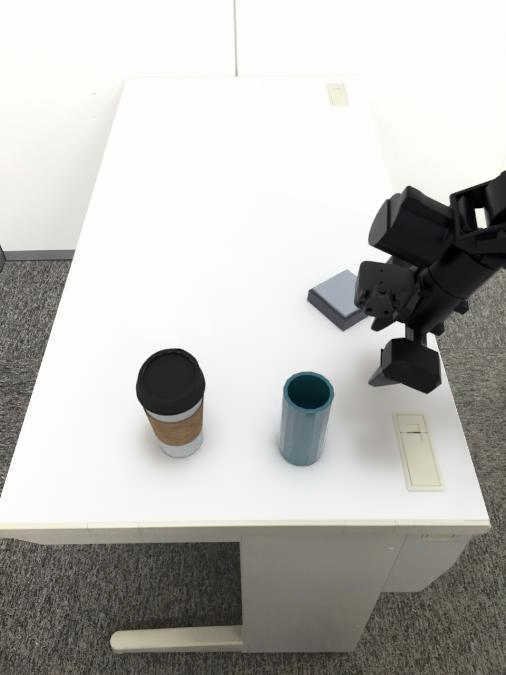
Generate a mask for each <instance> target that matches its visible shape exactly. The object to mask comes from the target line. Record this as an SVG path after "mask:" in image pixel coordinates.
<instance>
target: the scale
mask: <svg viewBox="0 0 506 675" xmlns="http://www.w3.org/2000/svg"><path fill="white" fill-rule="evenodd" d="M356 279H357V275H356V274H354V273H353V272H351V270H350V269H345V270H343V271H341V272H340V273H338V274H335V275H334V276H332V277H330V278H328V279H327V280H324V281H323V282H321V283H319V284H318V285H315V286H313V287H311V288H310V289H308V291H307V299H306V300H307V301H308V302H309V303H310V304H311V305H312V306H313V307H314V308H315V309H317V310H318V311H319V312H321V314H323V315H324V316H325V317H326V318H327V319H328V320H329V321H330V322H331V323H333V324H334V325H335V326H336V327H337V328H339V329H340V330H341V331H342V332H344V331H346V330H348V329H349V328H351V327H352V326H354V325H356V324H358V323H359V322H361V321H362V320H364V319H366V318H367V317H368V316H367V315H365V314H364V310H363V309H359V308H357V307H356V306H355V305H354V295H355V283H356Z"/></svg>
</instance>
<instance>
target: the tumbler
mask: <svg viewBox="0 0 506 675" xmlns="http://www.w3.org/2000/svg"><path fill="white" fill-rule="evenodd" d="M334 399H335V390H334V386H333V385H332V383H331V382H330V380H329V379H328V378H327V377H325V376H324V375H323V374H321V373H318V372H315V371H308V370H307V371H299V372H296V373H293V374H292V375H290V377H288V378H287V379H286V380H285V383H284V385H283V387H282V399H281V410H280V423H279V424H280V426H279V437H278V450H279V452H280V455H281V456H282V457H283V459H284V460H285V461H287V462H288V463H289V464H291V465H293V466H296V467H297V466H298V467H308V466H310V465H313V464H315V463H316V462H317V461H319V459H321V456H322V455H323V451H324V447H325V444H326V443H325V442H326V437H327V433H328V428H329V423H330V419H331V414H332V409H333V404H334Z"/></svg>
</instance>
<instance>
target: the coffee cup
mask: <svg viewBox="0 0 506 675" xmlns="http://www.w3.org/2000/svg"><path fill="white" fill-rule="evenodd" d="M198 361H199V360H197V358H196V357H195V356H194V355H193V354H191V353H190V352H188V351H187V350H185V349H183V348H181V347H180V348H179V347H173V348H172V347H171V348H163V349H160V350H158V351H156V352H154V353H152V354H151V355H149V357H147V358H146V359H145V361H144V362H143V363H142V365H141V366H140V368H139V371H138V373H137V378H136V381H135V382H136V384H135V392H136V393H135V394H136V399H137V401H138V403H139V404H140V406H142V409H143V412H144V414H145V415H146V418H147V420H148V422H149V424H150V426H151V429H152V431H153V433H154V435H155V437H156V439H157V441H158V444H159V447H160V449H161V450H162V451H163V452H164V453H165V454H166V455H168V456H169V457H172V458H178V459H179V458H186V457H189V456H191V455H193V454H194V453H195V452H197V451H198V449H199V448H200V446H201V445H202V441H203V427H204V426H203V424H204V423H203V421H204V402H205V392H206V387H207V386H206V385H207V383H206V378H205V374H204V372H203V370H202V368H201V367H200V364H199V362H198Z"/></svg>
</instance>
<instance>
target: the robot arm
mask: <svg viewBox="0 0 506 675" xmlns="http://www.w3.org/2000/svg"><path fill="white" fill-rule="evenodd" d="M448 200H449V205H446V204H444V203H442V202H440V201H438V200H436V199H434V198H433V197H429V196H428V195H426V194H424V193H423V192H422V191H421V190H420V189H418V188H416V187H414V186H412V185H407V186H406V187H405V188H404V189H403V190H402V192H401V193H400V192H396V193H394V194H393V195H391V196H390V197H389V198H386V199H385V200H384V202H383V203H382V205H381V206H380V208H379V209H378V211H377V212H376V215H375V217H374V219H373V221H372V223H371V226H370V229H369V232H368V236H367V242H368V245H369V246H370V247H372V248H374V249H377V250H378V251H381V252H383V253H385V254H388V255H390V257H389V258H388V259H387V261H386V262H381V261H374V260H363V261H362V262H360V264H359V266H358V271H357V275H356V276H357V279H356V283H355V295H354V305H355V306H356V307H357V308H359V309H363V310H364V314H365V315H367V317H372V318H373V320H372V323H371V325H370V330H371V331H373V332H376V333H378V332H380V331H382V330H384V329H386V328H388V327H389V326H391V325H393V324H395V323H396V322H398V323H400V324H404V336H402V337H394V338H391V339H390V340H389V341H387V343H386V344H385V345H384V348H380V355H379V356H380V358H379V359H380V360H379V366H378V367H377V368H376V369H375V371H374V372H373V374H372V375H371V377H370V378H369V380H368V381H367V384H368V385H369V386H371V387H373V388H378V387H385V386H392V385H399V384H401V385H403V386H406V387H408V388H410V389H413V390H415V391H418V392H420V393H422V394H425V395H429V394H430V393H432V392H433V391H435V390H436V389H437V388H438V387H440V386H441V385H442V384H443V382H442V381H443V378H442V366H441V364H442V363H441V357H440V353H439V351H437V350H434V349H432V348H430V347H428V334H431V335H434V336H436V337H441V336H442V335H443V334H444V333H445V332H446V331H445V321H446V320H448V318H450V317H451V316H452V315H453V314H454V313H457V314H460V315H462V316H464V315H465V314H466V313H467V312H469V311H470V305H469V304H470V303H469V299H471V298H472V297H473V296H474V295H475V294H476V293H477V292H478V291H480V289H481V288H483V287H484V286H485V285H486V284H487V283H488V282H489V281H490V280H491V279H492V278H493V277H494V276H496V275H497V274H498V273H499V272H500V271H501V270H506V169H505V170H503V171H501V172H500V174H499V175H498V176H495V178H492V179H489V180H487V181H483V182H480V183H478V184H475V185H472V186H470V187H466V188H463V189H461V190H458V191H455V192H452V193H450V194H449V196H448ZM476 209H477V210H479V209H482V210H483V214H484V218H485V219H484V220H485V225H486V227H484V228H483V227H479V226H478V220H477V219H478V218H477V214H476Z"/></svg>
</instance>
